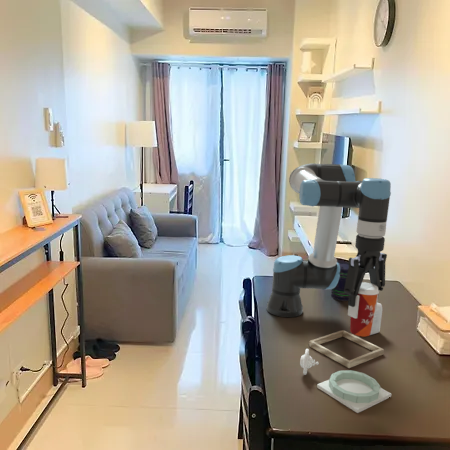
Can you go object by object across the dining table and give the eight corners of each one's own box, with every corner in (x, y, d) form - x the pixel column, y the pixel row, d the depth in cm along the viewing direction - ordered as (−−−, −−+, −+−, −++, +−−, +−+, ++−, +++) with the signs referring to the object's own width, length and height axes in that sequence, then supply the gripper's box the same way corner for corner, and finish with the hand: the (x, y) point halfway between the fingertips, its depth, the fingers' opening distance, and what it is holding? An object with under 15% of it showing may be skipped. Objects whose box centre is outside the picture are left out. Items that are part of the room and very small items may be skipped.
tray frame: (308, 346, 163) (309, 340, 163) (342, 334, 174) (343, 329, 173) (349, 368, 149) (349, 362, 149) (383, 354, 159) (383, 349, 159)
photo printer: (372, 328, 181) (375, 298, 178) (381, 332, 177) (385, 302, 175) (354, 333, 175) (357, 303, 173) (363, 338, 172) (367, 307, 169)
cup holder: (316, 387, 137) (317, 378, 136) (350, 373, 146) (350, 365, 145) (357, 413, 125) (358, 403, 125) (391, 396, 134) (392, 387, 133)
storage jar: (335, 291, 221) (338, 261, 218) (355, 296, 215) (358, 266, 212) (327, 297, 213) (330, 266, 210) (347, 302, 208) (350, 270, 204)
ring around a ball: (300, 366, 149) (302, 343, 147) (318, 369, 148) (320, 346, 146) (298, 378, 141) (300, 354, 140) (316, 381, 140) (319, 357, 139)
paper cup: (370, 340, 126) (375, 292, 123) (342, 333, 130) (347, 286, 127) (377, 331, 133) (382, 284, 130) (351, 324, 137) (355, 279, 134)
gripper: (357, 242, 117) (348, 326, 121) (405, 234, 129) (395, 311, 133) (334, 236, 123) (327, 316, 127) (382, 229, 135) (373, 302, 139)
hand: (362, 313), depth 130 cm, fingers closed on paper cup, 8 cm apart
